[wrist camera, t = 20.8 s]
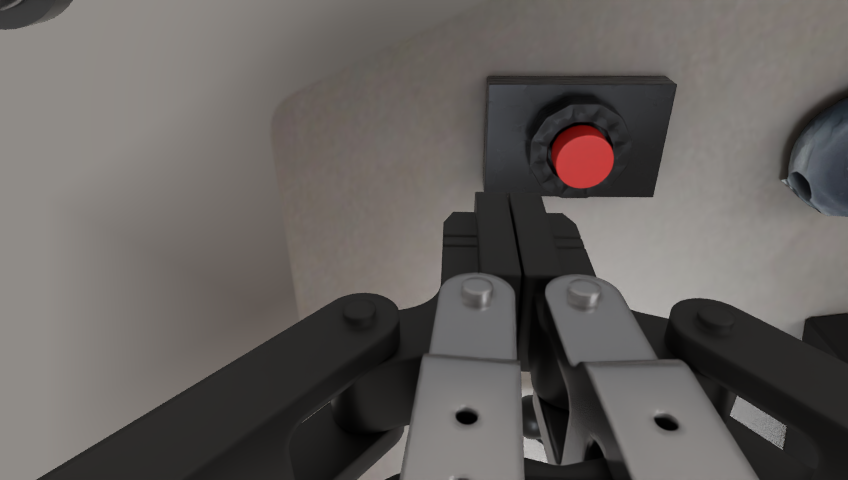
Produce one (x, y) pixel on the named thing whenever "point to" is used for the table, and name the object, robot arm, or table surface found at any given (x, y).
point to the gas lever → (529, 419)
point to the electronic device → (822, 162)
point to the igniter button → (582, 156)
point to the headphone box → (836, 338)
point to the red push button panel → (566, 107)
